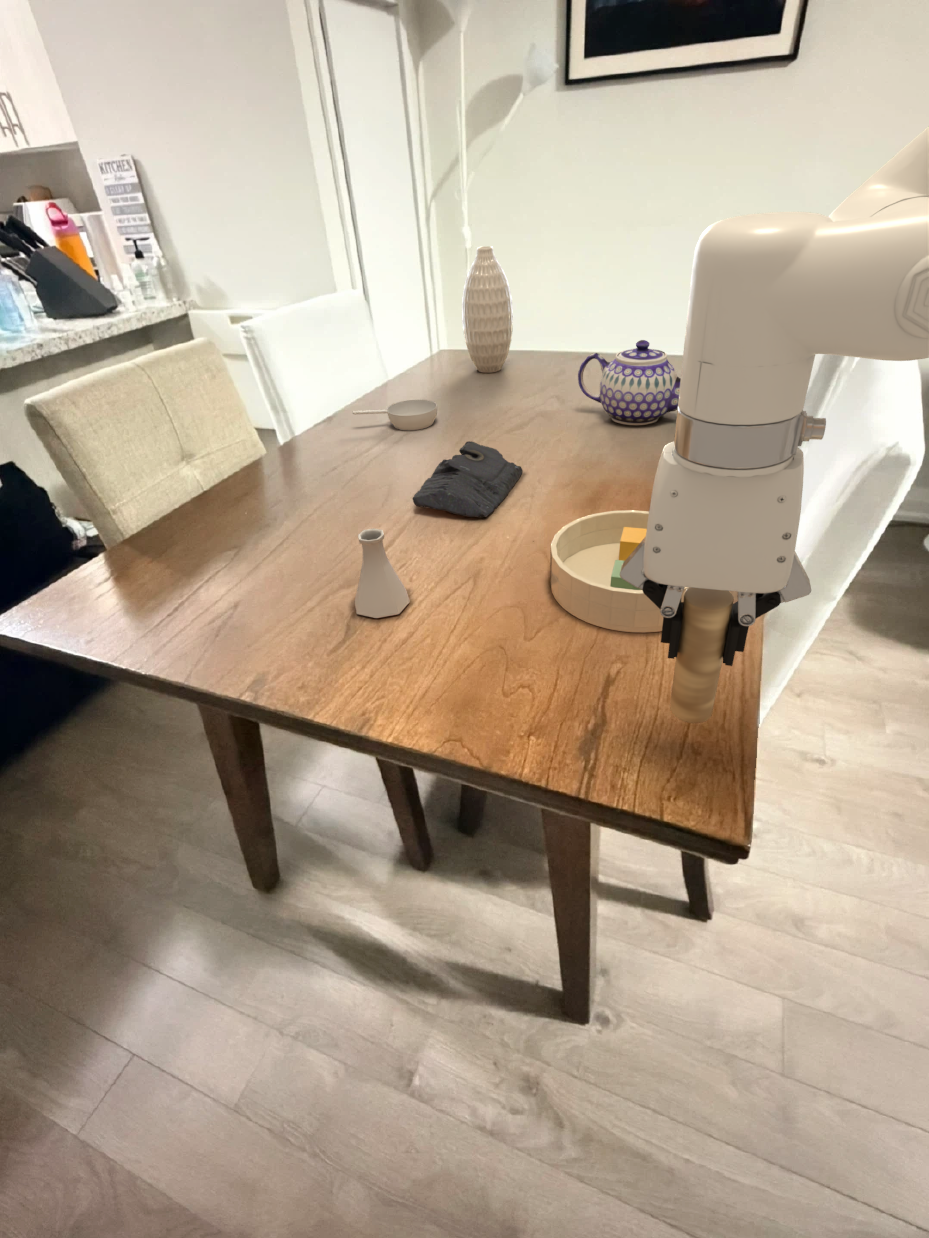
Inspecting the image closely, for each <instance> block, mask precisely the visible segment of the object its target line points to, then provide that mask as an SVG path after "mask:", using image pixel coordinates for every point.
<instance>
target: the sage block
mask: <svg viewBox="0 0 929 1238" xmlns="http://www.w3.org/2000/svg"><path fill="white" fill-rule="evenodd" d="M623 563H624V561H622V560H615V564H614V567H613V571H612V575H611V584H610V587H614V588H623V589H632V590H641V589H640V588H636V587H635V586H633V585H631V584H630V583H628V582H626V581H625V580H623V579H622V578H621V577H620V570H621V566H622V564H623Z"/></svg>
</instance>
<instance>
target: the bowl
mask: <svg viewBox="0 0 929 1238" xmlns="http://www.w3.org/2000/svg"><path fill="white" fill-rule="evenodd" d="M648 516H649V510H637V509H636V510H635V509H627V510H625V509H623V510H609V511H604V512H603V511H602V512H597V513H592V514H589V515H586V516H583V517H579V518H576V519H575V520H573V521H570V522H569V523H567V524H565V525H564V526H563V527H561V529H559V530H558V531H557V532H556V533H555V534H554V536H553V539H552V541H551V543H550V557H549V561H550V562H549V565H550V566H549V567H550V569H549V576H550V577H549V579H550V589H551V593H552V595H553V598H554V599H555V601H556V602H557V603H558V604H559V605H560V607H562V608H563V609H564V610H565V611H566V612H567V613H569V614H570V615H572V616H573V617H575V618H577V619H579V620H581V621H583V622H585V623H588V624H590V625H593V626H595V627H599V628H602V629H607V630H611V631H618V632H624V633H625V632H626V633H643V634H644V633H659V632H662V626H663V616H662V615H661V613H660V609H659V608H658V607H657V606H656V605H655V604H654V603H653V602H652V601H651V600H650V599H649V598H648V597H647V596H646V595H645V594H644V593H643V590H632V589H623V588H614V587H610V584H611V575H612V571H613V567H614V564H615V560H619V550H620V540H621V536H622V533H623V529H624V527H632V528H643V529H647V524H648ZM688 588H690V587H685V588H684V591H683V594H682V597H681V602H683V601H684V594H685V592H686V590H687V589H688Z"/></svg>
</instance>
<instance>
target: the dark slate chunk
mask: <svg viewBox="0 0 929 1238" xmlns="http://www.w3.org/2000/svg"><path fill="white" fill-rule="evenodd" d="M458 452H459V454H454V455H453V456H452V457H451V458H450V459H442V461H441V462H439V463H438V465H437V466H436V467H435V469H434V471H433V472H432V474H431V475H430V477H428V478H427V479H425V481H424V482H423V484H422V485H421V487H420V489H419V490H418V491H417V492H416V493H415V494H414V495H413V496H412V503H413V504H414V505H415V506H416V507H420V508H426V509H431V510H436V511H445V512H448V513H450V514H454V515H459V516H463V517H468V518H486V517H488V516H489V515H490V514H492V512H495V510H496V509H497V508H498V506H500V504H501V503H502V502H504V499H505V498H507V496H508V494H509V493H510V492H511V490H512V489H513V487H514V486H515V484H516V483H517V481H519V479H521V476H522V474H523V471H524V470H523V468H522V466H521V465H517V464H516V463H515V462H510V461H508V460H506V459H505V457H504V456H503V454H502V453H501V452H500V451H499V450H498V449H496V448H493V447H490V446H486V445H482V444H479V443H477V442H474V441H473V440H472V441H471V440H468V441H466V442H465V443H464V445H462V447H460V448H459V451H458Z"/></svg>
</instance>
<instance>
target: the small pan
mask: <svg viewBox="0 0 929 1238" xmlns="http://www.w3.org/2000/svg"><path fill="white" fill-rule="evenodd" d="M351 414H352V415H376V414H377V415H378V414H379V415H380V414H387V417H388V420H389V421H390V423H391V424H392V425H393V427H394V428H395V429H397V430H401V431H419V430H423V429H426V428H429V427H431V426H432V425H433V424H434V421H435V420H436V418H437V415H438V404H437V403H436V402H435V401H433V400H429V399H421V398H420V399H417V398H416V399H406V400H401V401H398V402H394V403H392V404H390V405H389V406H387V408H386V409H366V410H352V413H351Z"/></svg>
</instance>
